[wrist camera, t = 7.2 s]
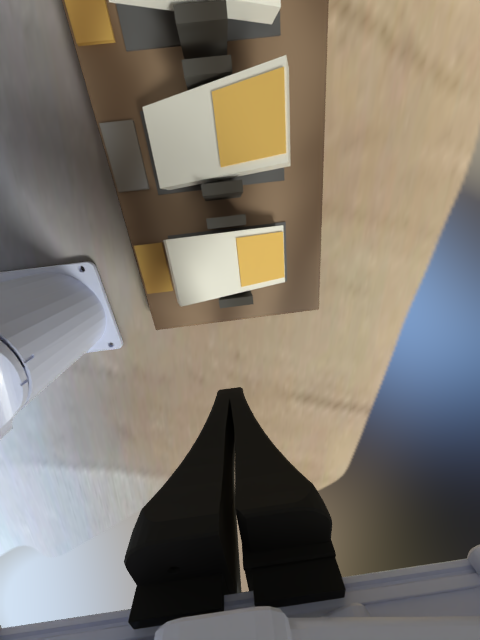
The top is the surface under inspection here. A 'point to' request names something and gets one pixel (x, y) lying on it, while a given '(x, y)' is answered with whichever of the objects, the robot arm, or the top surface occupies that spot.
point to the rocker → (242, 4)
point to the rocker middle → (222, 127)
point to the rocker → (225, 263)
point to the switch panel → (223, 195)
